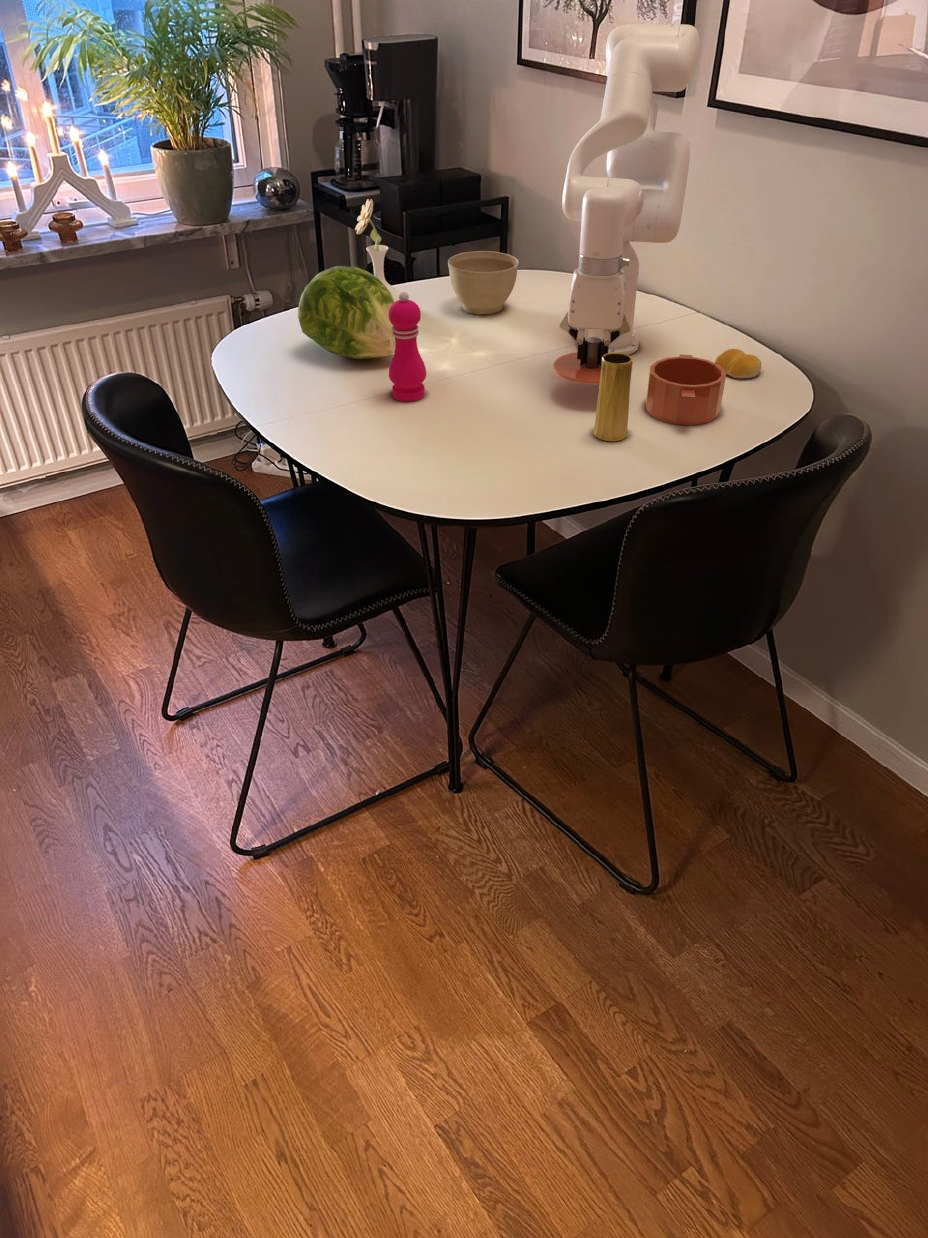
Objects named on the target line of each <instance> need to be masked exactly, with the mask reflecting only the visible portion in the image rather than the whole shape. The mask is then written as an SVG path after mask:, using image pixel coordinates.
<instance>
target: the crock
mask: <svg viewBox="0 0 928 1238" xmlns="http://www.w3.org/2000/svg"><path fill="white" fill-rule="evenodd" d="M726 378H727V374H726V373H725V370H724V369H723V368H722V367H721V366H720V365H719V364H716V363H715V361H711V360H710V359H705V358H700V357H696V356H693V354H679V355H678V356H670V357H665V358H662V359H658V360H655V361H654V362H653V363H652V364H651V365H650V366H649V375H648V383H647V391H646V400H645V410H646V412H647V413H648V414H649V415H650V416H652V417H653V418H655V419H657V420H659V421H662V422H663V423H669V424H673V425H679V426H696V425H703V424H706V423H709V422H712V421H714V420H715V419H716V418H718V416H719V414H720V412H721V408H722V402H723V395H724V391H725V385H726Z"/></svg>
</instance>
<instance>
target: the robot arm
mask: <svg viewBox="0 0 928 1238" xmlns="http://www.w3.org/2000/svg"><path fill="white" fill-rule="evenodd" d="M700 44H701V43H700V35H699V32H698V29H697V28H696V27H695V26H694V25H691V24H685V23H684V24H683V23H682V24H681V23H680V24H679V23H677V24H676V23H629V24H628V23H627V24H622V25H619V26H617V27H614V28H613V29H612V30H611V31H610V32H609V34H608V36H607V38H606V44H605V65H606V66H605V67H606V73H607V78H606V82H605V90H604V96H603V102H602V107H601V113H600V119H599V121H598V122H596V123H595V124H594V125H593V126H592V127H591V128H590V129H589V130H588V131H587V132H585V133H584V135H583V136H582V137H581V138H580V140H578V142H577V143H576V145H575V147H574V148H573V150H572V152H571V154H570V156H569V159H568V163H567V167H566V173H565V178H564V184H563V190H562V198H561V204H562V205H561V207H562V212H563V214H564V216H565V218H566V219H568V220H569V221H571V222H577V223H580V237H579V253H578V267H576V268H575V269H574V270H573V274H572V277H571V278H572V279H571V283H570V290H569V291H570V292H569V299H568V309H567V311H566V312H565V314H564V316H563V317H562V319H561V321H560V322H559V325H558V326H559V327H558V328H559V329H560V330H562V331H564V332H566V333H567V334H569V336H571V338H572V339H573V340H574V341H575V342H576V345H577V351H576V352H577V359H580V365H582V366H583V365H584V358H585V345H586V339H587V338H590V337H596V338H600V339H601V340H602V344H601V354H600V366H602V356H603V355H605V354H607V353H613V352H619V353H625V354H628V355H631V354H633V353H635V352H636V351H637V350H638V349H639V344H640V343H639V339H638V338H637V337H635V335H633V329H634V320H635V309H636V300H637V299H636V298H637V292H638V291H637V290H638V281H639V273H640V261H639V257H638V255H637V252H636V250H635V249H634V247H633V246H632V244H631V243H634V242H635V243H638V242H639V243H652V244H654V243H655V244H668V243H670V242H672V241H674V240H675V239H676V237H677V236H678V234H679V231H680V228H681V227H680V226H681V223H682V218H683V217H682V216H683V209H684V201H685V196H686V190H687V182H688V175H689V167H690V159H691V158H690V157H691V156H690V155H691V153H690V152H691V149H690V142H689V140H688V138H687V137H686V136H685V135H684V134H682V133H679V132H675V131H674V132H673V131H656V125H657V119H658V111H659V109H658V108H659V107H658V103H657V101H656V99H655V97H654V95H653V92H665V93H667V92H669V93H677V92H682V91H684V90H685V89H686V88H687V87H688V85H689V84H690V81H691V78H692V76H693V73H694V70H695V69H696V66H697V63H698V59H699V54H700ZM604 154H607V155H606V173H607V177H605V176H604V177H603V176H584V173H585V171H586V169H587V168H588V166H589V165H590V164H591V163H592V162H593V161H595V159H597V158H599V157H600V156H602V155H604ZM642 186H649V187H650V186H651V187H658V188H660V189H653V188H642Z"/></svg>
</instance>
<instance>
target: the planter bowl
mask: <svg viewBox="0 0 928 1238" xmlns="http://www.w3.org/2000/svg"><path fill="white" fill-rule="evenodd" d="M519 263H520V262H519V259H518V258H516V257H515V256H513V255H511V254H508V253H504V252H499V251H489V250H480V251H476V250H475V251H466V252H460V253H458V254H455V255H453V256H451V257H449V259H448V260H447V266H448V273H449V279H450V283H451V287H452V289H453V292H454V294H455V296H456V297H457V299H458V301H459V302H460V303H461V306H462V310H464V311H465V312H468V313H471V314H475V315H490V314H491V315H492V314H495V313H498V312H500V311H501V310H503V308H504V305H505V303H506V301H507V300H508V299H509V297H510V296H511V294H512V292H513V290H514V287H515V285H516V281H517V276H518V268H519Z"/></svg>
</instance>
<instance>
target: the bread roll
mask: <svg viewBox="0 0 928 1238" xmlns="http://www.w3.org/2000/svg"><path fill="white" fill-rule="evenodd" d="M714 363H716V364H719V365H720V366H721V367H722V368H723V369H724V370H725V373H726V375H728V376H729V377H731V378H733V379H738V380H739V379H741V380H743V379H751V378H755V377H757V376H758V375H759V374H760V373H761V369H762V361H761V359H760V358H759V357H757V356H756V355H753V354H748V353H747V354H746V353H745V352H744V351H743V350H741V349H738V348H730V349H726V350H725V351H723V352H722V353H720V354H719V355H718V356H716V358H715V361H714Z"/></svg>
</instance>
